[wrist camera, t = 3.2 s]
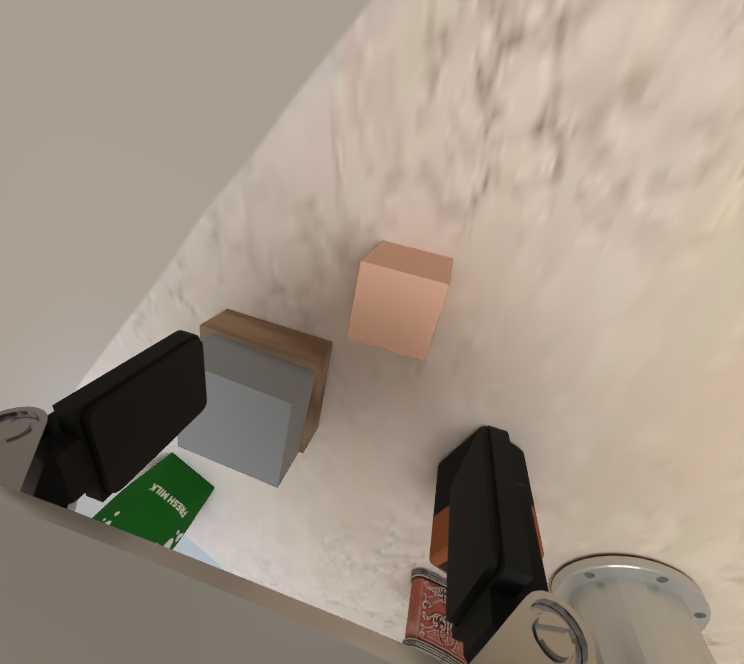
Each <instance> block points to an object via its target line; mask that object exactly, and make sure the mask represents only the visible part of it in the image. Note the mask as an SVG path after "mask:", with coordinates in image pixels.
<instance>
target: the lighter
mask: <svg viewBox="0 0 744 664" xmlns="http://www.w3.org/2000/svg"><path fill="white" fill-rule="evenodd" d="M411 582H412V587H411V595H410V603H409V610H408V618H407V626H406V633H405V639H404V640H403V643H402V644H405V645H407V646H409V647H412V648H414V649H416V650H418V651H420V652H422V653H424V654H426V655H428V656H430V657H432V658H434V659H436V660H438V661H441V662H443V663H445V664H467V661H466V660H465V658H464V656H463V642H461V641H458V640H456V639H453V638H452V623H451V622H448V621H447V619H446V590H447V579H446V578H444V577H443V576H441V575H439V574H437V573H434V572H432V571H430V570H428V569H425V568H421V567H418V568H415V569H413V570H412V575H411Z"/></svg>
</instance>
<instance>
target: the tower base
mask: <svg viewBox="0 0 744 664" xmlns="http://www.w3.org/2000/svg"><path fill="white" fill-rule="evenodd" d="M210 334H215V335H218V336H220V337H223V338H226V339H228V340H231V341H234V342H236V343H239V344H242V345H244V346H247V347H250V348H252V349H255V350H258V351H260V352H263V353H266V354H268V355H271V356H274V357H277V358H279V359H282V360H285V361H287V362H290V363H293V364H295V365H298V366H301V367H303V368H306V369H309V370H311V371H314V372H316V374H315V379H314V383H313V388H312V393H311V398H310V403H309V407H308V412H307V417H306V422H305V427H304V431H303V436H302V441H301V446H300V451H299V452H301V453H303V452H304V450H305V449H306V447H307V445H308V444H309V442H310V440H311V438H312V437H313V435H314V433H315V431H316V430H317V428H318V425H319V419H320V413H321V407H322V401H323V395H324V389H325V383H326V378H327V372H328V366H329V360H330V354H331V348H332V342H331V341H328V340H324V339H321V338H318V337H315V336H312V335H309V334H305V333H302V332H299V331H296V330H293V329H289V328H286V327H283V326H280V325H277V324H274V323H270V322H267V321H264V320H261V319H258V318H254V317H251V316H248V315H245V314H242V313H239V312H235V311H232V310H229V309H227V310H225V311H223V312H222V313H220V314H218V315H216V316H215V317H213V318H211V319H210V320H208V321H206V322H204V323H203V324H201V325H200V341H201V340H202V339H204V338H206V337H207V336H209V335H210Z"/></svg>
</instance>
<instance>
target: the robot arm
mask: <svg viewBox="0 0 744 664" xmlns="http://www.w3.org/2000/svg"><path fill="white" fill-rule="evenodd" d="M206 404H207V392H206V379H205V365H204V351H203V343H202V341H200V338H199V337H198V336H197V335H195V334H192V333H189V332H186V331H182V330H179V331H176V332H174V333H173V334H171V335H169V336H168V337H166V338H164V339H163V340H161V341H159V342H158V343H156V344H154V345H153V346H151V347H149V348H148V349H146V350H144V351H143V352H141V353H139V354H138V355H136V356H134V357H133V358H131V359H129V360H128V361H126V362H124V363H122V364H121V365H119V366H117V367H116V368H114V369H112V370H111V371H109V372H107V373H106V374H104V375H102V376H101V377H99V378H97V379H96V380H94V381H92V382H91V383H89V384H87V385H86V386H84V387H82V388H81V389H79V390H77V391H76V392H74V393H72V394H71V395H69V396H68V397H66V398H64V399H62V400H61V401H59V402H57V403H56V404H54V405H53V409H54V412H52V413H51V414H49V415H47V414H46V412H45V411H44V410H42V409H40V408H36V407H17V408H12V409H7V410H4V411H1V412H0V664H445V663H443V662H441V661H438V660H436V659H434V658H432V657H430V656H428V655H426V654H424V653H422V652H420V651H418V650H416V649H414V648H412V647H409V646H407V645H405V644H402V643H400V642H398V641H395V640H393V639H391V638H388V637H386V636H384V635H381V634H379V633H377V632H374V631H372V630H370V629H367V628H365V627H363V626H360V625H358V624H356V623H353V622H351V621H348V620H346V619H343V618H341V617H338V616H336V615H334V614H331V613H329V612H326V611H324V610H321V609H319V608H316V607H314V606H311V605H309V604H306V603H304V602H301V601H299V600H296V599H294V598H291V597H289V596H286V595H284V594H282V593H279V592H277V591H274V590H272V589H269V588H267V587H264V586H262V585H259V584H257V583H254V582H252V581H249V580H247V579H244V578H242V577H239V576H237V575H234V574H232V573H229V572H227V571H224V570H221V569H219V568H217V567H214V566H211V565H209V564H206V563H204V562H201V561H199V560H196V559H194V558H191V557H189V556H186V555H183V554H181V553H179V552H176V551H174V550H171V549H169V548H166V547H164V546H161V545H159V544H156V543H153V542H151V541H148V540H146V539H143V538H141V537H138V536H136V535H133V534H130V533H128V532H125V531H123V530H120V529H118V528H115V527H113V526H110V525H107V524H105V523H102V522H100V521H97V520H95V519H92V518H89V517H87V516H84V515H82V514H79V513H77V512H75V509H76V504H77V500H78V499H79V498H80V497H81V496H82V495H83V494H84V493H86V496H88V497H91V498H94V499H96V500H98V501H101V502H104V501H105V500H106V499H107V498H108V497H109V496H110V495H111V494H112V493H116V492H118V491H120V490H121V489H122V488H124V487H125V486H126V485H127V484H128V483H129V482H130V481H131V480H132V479H133V478H134V477H135V476H136V475H137V474H138V473H139V472H140V471H141V470H142V469H143V468H144V467H145V466H146V465H147V464H148V463H149V462H150V461H152V460H153V459H154V458H155V457H156V456H157V455H158V454H159V453H160V452H161V451H162V450H163V449H164V448H165V447H166V446H167V445H168V444H169V443H170V442H171V441H172V440H173V439H174V438H175V437H176V436H177V435H178V434H179V433H180V432H182V431H183V430H184V429H185V428H186V427H187V426H188V425H189V424H190V423H191V422H192V421H193V420H194V419H195V418H196V417H197V416H198V415H199V414H200V413H201V412H202V411H203V410H204V408H205V407H206ZM551 591H552V593H550V592H549V591H548V586H547V581H546V576H545V571H544V567H543V562H542V557H541V552H540V547H539V542H538V537H537V532H536V527H535V522H534V517H533V512H532V507H531V502H530V497H529V493H528V489H527V487H526V486H525V484H522V483H519V482H517V480H516V474H515V469H514V463H513V457H512V451H511V445H510V440H509V434H508V432H507V431H505V430H501V429H498V428H495V427H492V426H487V427H486V428H485V429H482V428H480V429H479V430H478V432H477V434H476V436H475V438H474V440H473V442H472V444H471V446H470V448H469V450H468V452H467V454H466V456H465V458H464V460H463V462H462V464H461V467H460V469H459V471H458V473H457V475H456V477H455V479H454V481H453V483H452V486H451V490H450V503H449V532H448V561H447V590H446V619H447V621H448V622H451V623H452V638H453V639H456V640H458V641H461V642H463V656H464V658H465V660H466V661H467V664H716V662H715V660H714V658H713V656H712V654H711V652H710V650H709V648H708V646H707V644H706V642H705V641H704V639H703V637H702V635H701V633H700V632H701V631H702V630H704V629H705V627H706V625H707V624H708V622H709V620H710V615H711V612H710V608H709V604H708V602H707V601H706V599H705V597H704V595H703V593H702V591H701V590H700V589H699V588H698V586H697V585H696V584H695V583H694V582H693V581H692V580H691V579H689V578H688V577H687V576H685V575H684V574H682V573H680V572H678V571H677V570H675V569H673V568H671V567H668V566H665V565H663V564H660V563H658V562H654V561H650V560H646V559H642V558H635V557H629V556H597V557H592V558H587V559H583V560H580V561H577V562H574V563H572V564H570V565H568V566H566V567H564V568H563V569H562V570H561V571H560V572H558V573H557V574H556V576H555V577H554V579H553V581H552V585H551Z"/></svg>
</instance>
